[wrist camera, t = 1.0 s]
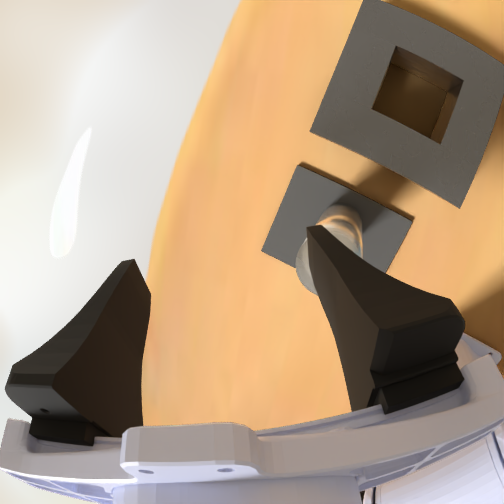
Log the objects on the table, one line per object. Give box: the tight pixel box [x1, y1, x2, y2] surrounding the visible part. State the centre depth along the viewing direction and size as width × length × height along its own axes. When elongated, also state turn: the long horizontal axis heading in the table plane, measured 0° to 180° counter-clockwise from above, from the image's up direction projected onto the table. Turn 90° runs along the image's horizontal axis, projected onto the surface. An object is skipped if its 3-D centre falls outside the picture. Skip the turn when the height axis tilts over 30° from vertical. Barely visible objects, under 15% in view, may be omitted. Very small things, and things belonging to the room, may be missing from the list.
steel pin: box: [296, 203, 363, 295], centre depth 18 cm, size 3×3×9 cm
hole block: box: [310, 0, 504, 209], centre depth 17 cm, size 10×10×4 cm
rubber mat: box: [261, 165, 412, 273], centre depth 23 cm, size 9×7×1 cm
